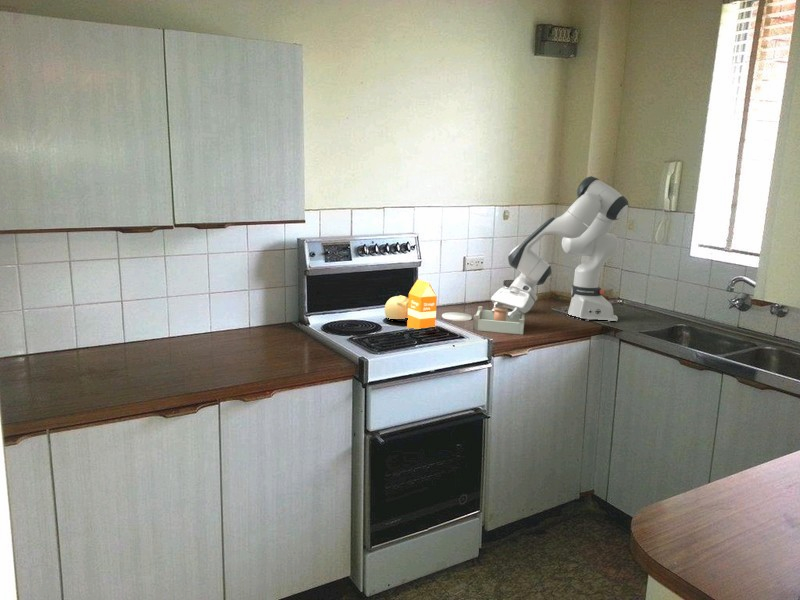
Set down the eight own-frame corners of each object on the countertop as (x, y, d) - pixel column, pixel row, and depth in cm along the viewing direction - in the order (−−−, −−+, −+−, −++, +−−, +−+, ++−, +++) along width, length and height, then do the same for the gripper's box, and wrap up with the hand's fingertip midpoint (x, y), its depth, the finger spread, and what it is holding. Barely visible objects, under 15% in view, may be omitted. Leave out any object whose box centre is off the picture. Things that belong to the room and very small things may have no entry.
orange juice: (422, 327, 275) (425, 278, 271) (435, 332, 268) (438, 282, 264) (406, 328, 271) (409, 279, 267) (418, 333, 263) (421, 283, 260)
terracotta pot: (506, 326, 284) (508, 307, 282) (505, 329, 278) (507, 310, 277) (492, 324, 285) (494, 306, 284) (491, 327, 280) (493, 308, 278)
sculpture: (407, 324, 278) (409, 299, 276) (380, 321, 281) (381, 296, 279) (415, 319, 289) (417, 294, 286) (389, 316, 292) (390, 291, 290)
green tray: (524, 323, 290) (525, 310, 288) (522, 334, 270) (524, 320, 269) (477, 319, 293) (478, 306, 292) (473, 330, 274) (474, 315, 273)
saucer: (473, 316, 300) (473, 313, 300) (470, 322, 288) (470, 320, 287) (444, 313, 302) (444, 311, 302) (440, 319, 290) (440, 317, 290)
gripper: (499, 281, 291) (480, 305, 287) (534, 289, 275) (514, 314, 271) (506, 290, 294) (488, 314, 291) (540, 299, 278) (521, 324, 274)
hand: (501, 314), depth 281 cm, fingers open, 8 cm apart
